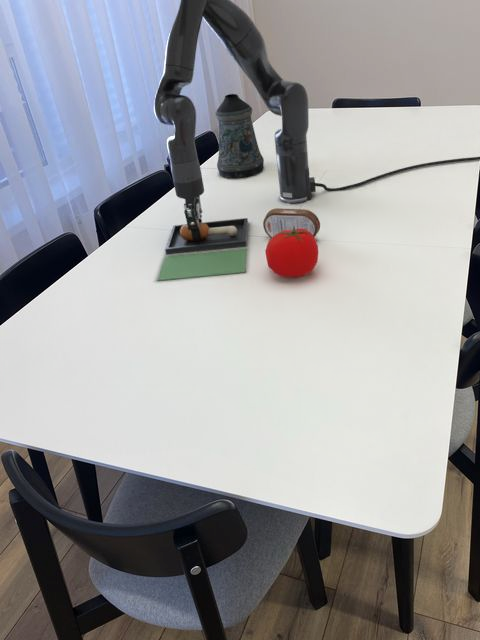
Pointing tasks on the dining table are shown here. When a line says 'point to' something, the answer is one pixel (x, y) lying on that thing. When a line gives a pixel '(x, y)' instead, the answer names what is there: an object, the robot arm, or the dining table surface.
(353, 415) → the dining table surface
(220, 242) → the pan
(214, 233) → the drumstick
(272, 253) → the tomato
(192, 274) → the napkin
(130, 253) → the dining table surface
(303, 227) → the tin
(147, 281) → the dining table surface
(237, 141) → the beer stein
